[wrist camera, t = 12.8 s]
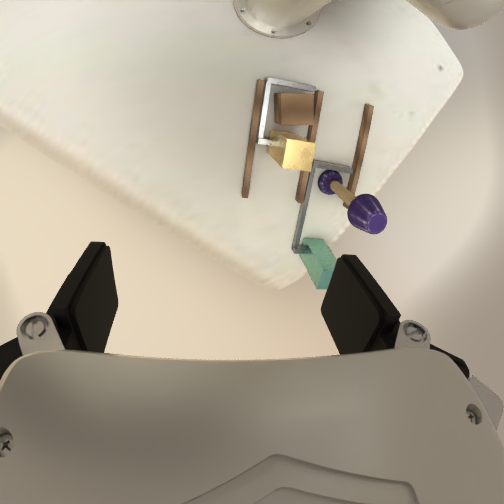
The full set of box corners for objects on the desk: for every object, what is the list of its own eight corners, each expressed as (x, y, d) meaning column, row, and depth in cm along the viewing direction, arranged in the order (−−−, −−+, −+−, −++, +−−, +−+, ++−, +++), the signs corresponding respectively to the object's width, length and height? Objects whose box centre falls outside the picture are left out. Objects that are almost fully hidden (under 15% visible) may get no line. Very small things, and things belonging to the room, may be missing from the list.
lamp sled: (310, 159, 43) (334, 176, 34) (348, 166, 44) (379, 185, 35) (289, 255, 51) (305, 289, 43) (325, 256, 52) (345, 289, 44)
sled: (265, 78, 35) (281, 72, 27) (311, 86, 37) (338, 85, 28) (255, 151, 41) (267, 166, 32) (299, 156, 42) (322, 173, 34)
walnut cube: (273, 93, 37) (280, 92, 33) (303, 94, 37) (313, 93, 33) (274, 122, 39) (281, 124, 35) (303, 122, 40) (313, 125, 36)
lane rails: (257, 80, 35) (259, 79, 34) (369, 105, 39) (373, 106, 37) (241, 194, 44) (242, 197, 43) (346, 205, 48) (350, 209, 46)
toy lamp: (315, 196, 46) (360, 245, 32) (313, 169, 44) (361, 208, 29) (341, 191, 46) (394, 237, 32) (340, 165, 44) (397, 202, 29)
